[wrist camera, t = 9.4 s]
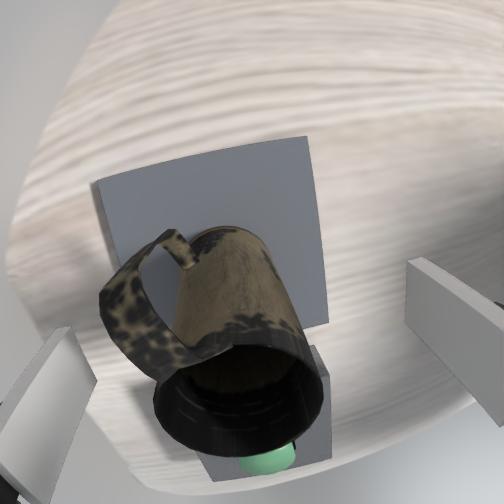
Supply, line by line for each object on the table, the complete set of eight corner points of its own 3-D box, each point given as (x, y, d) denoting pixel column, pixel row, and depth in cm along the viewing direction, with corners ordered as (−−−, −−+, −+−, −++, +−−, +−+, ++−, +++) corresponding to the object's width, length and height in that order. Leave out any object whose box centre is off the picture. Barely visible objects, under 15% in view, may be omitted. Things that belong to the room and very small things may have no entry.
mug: (291, 284, 20) (371, 435, 8) (217, 330, 20) (224, 499, 9) (216, 173, 17) (214, 219, 6) (137, 229, 18) (35, 352, 6)
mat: (304, 136, 18) (306, 135, 17) (326, 318, 21) (328, 322, 21) (100, 179, 17) (97, 180, 16) (154, 353, 21) (153, 358, 20)
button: (283, 408, 21) (292, 439, 18) (289, 439, 22) (297, 468, 19) (230, 419, 20) (233, 451, 17) (241, 448, 22) (245, 478, 19)
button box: (314, 345, 22) (329, 375, 19) (320, 429, 25) (331, 458, 22) (176, 372, 22) (173, 406, 18) (211, 451, 25) (213, 481, 21)
